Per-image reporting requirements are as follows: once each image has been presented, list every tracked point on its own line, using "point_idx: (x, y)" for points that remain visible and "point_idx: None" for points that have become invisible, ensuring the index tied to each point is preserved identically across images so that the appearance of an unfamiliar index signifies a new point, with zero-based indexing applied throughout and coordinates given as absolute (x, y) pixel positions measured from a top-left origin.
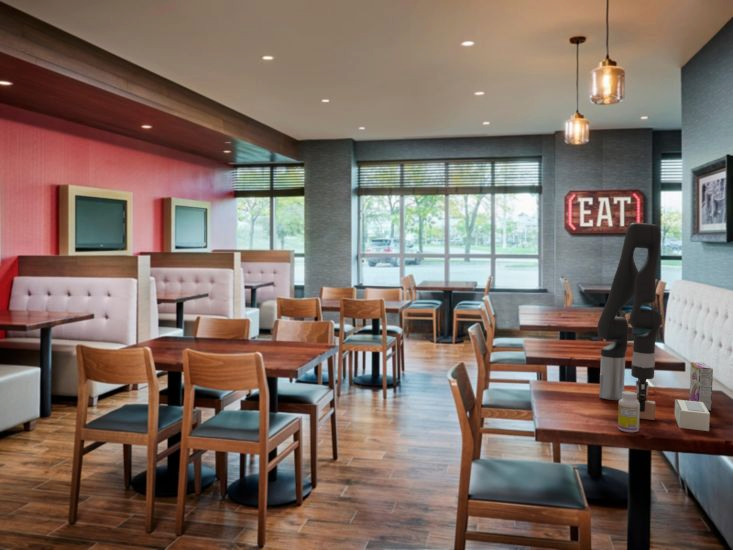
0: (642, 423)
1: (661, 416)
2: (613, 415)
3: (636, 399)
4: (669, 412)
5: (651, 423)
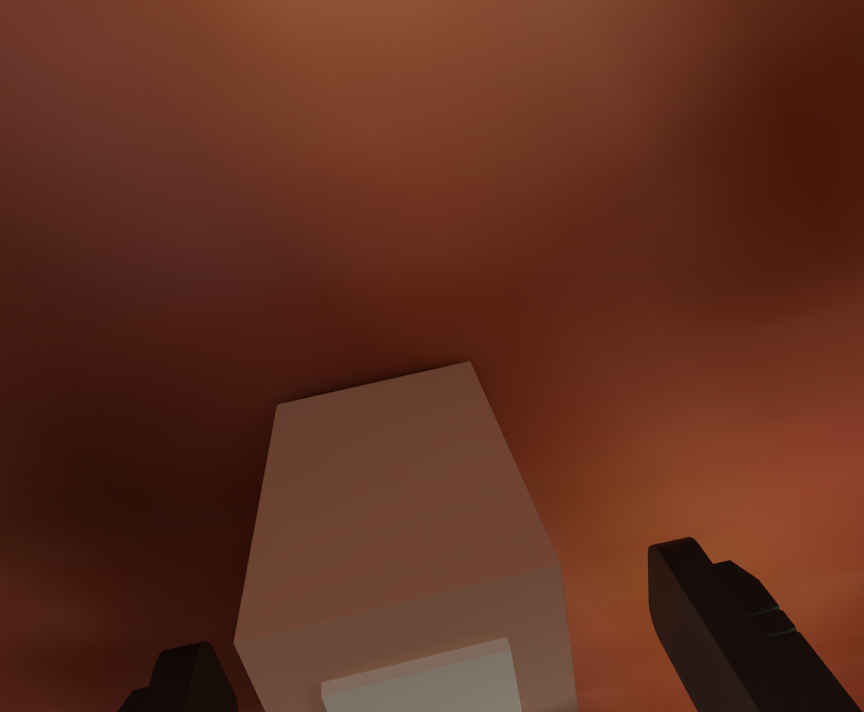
0: (78, 593)
1: (618, 667)
2: (225, 95)
3: (507, 700)
4: (843, 682)
5: None
